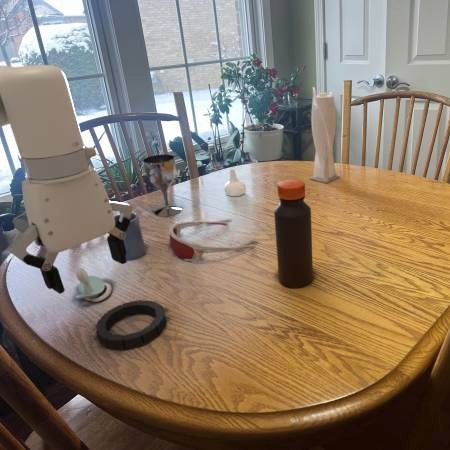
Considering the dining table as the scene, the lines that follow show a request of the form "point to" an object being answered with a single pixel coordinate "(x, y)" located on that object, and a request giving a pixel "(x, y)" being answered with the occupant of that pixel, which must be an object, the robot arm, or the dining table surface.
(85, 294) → the pacifier
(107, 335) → the ring
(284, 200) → the bottle
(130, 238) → the cup
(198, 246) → the sunglasses
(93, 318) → the dining table surface
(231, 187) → the garlic bulb
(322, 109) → the skyscraper
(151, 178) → the wine glass
